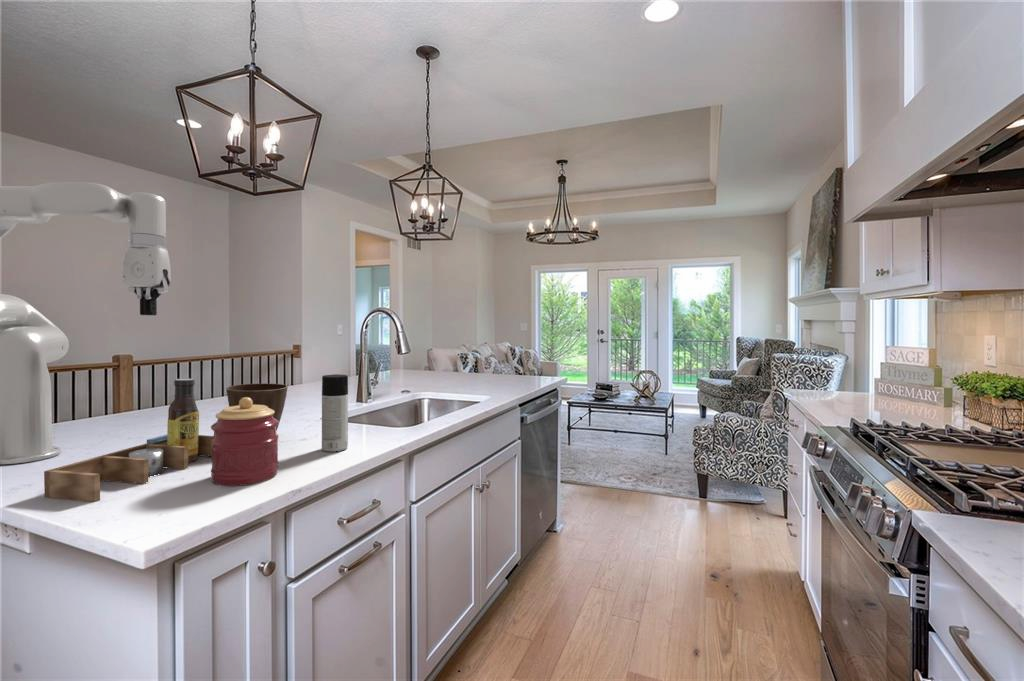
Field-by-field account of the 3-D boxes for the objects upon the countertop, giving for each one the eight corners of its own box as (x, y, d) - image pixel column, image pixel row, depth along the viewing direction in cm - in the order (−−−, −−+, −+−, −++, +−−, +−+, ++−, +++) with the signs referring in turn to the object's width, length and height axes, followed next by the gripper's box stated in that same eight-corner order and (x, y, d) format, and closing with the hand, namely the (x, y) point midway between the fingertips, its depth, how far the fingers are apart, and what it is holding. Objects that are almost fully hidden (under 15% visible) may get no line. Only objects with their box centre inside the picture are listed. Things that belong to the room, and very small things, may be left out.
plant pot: (284, 435, 142) (284, 382, 141) (290, 447, 129) (290, 388, 128) (226, 440, 134) (226, 384, 133) (226, 454, 121) (226, 391, 120)
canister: (216, 471, 108) (216, 394, 107) (280, 465, 113) (280, 392, 112) (205, 490, 96) (205, 403, 95) (276, 483, 101) (277, 400, 100)
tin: (121, 477, 102) (121, 454, 102) (147, 469, 108) (146, 447, 108) (145, 479, 101) (145, 456, 101) (170, 471, 107) (170, 449, 107)
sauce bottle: (182, 466, 111) (181, 381, 110) (160, 463, 112) (159, 380, 111) (205, 458, 117) (205, 378, 116) (184, 456, 118) (183, 377, 117)
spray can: (353, 448, 129) (353, 375, 128) (331, 454, 123) (332, 377, 122) (337, 444, 132) (337, 373, 132) (315, 449, 127) (316, 375, 126)
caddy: (43, 497, 90) (43, 467, 90) (180, 453, 121) (180, 430, 121) (94, 501, 88) (94, 471, 88) (220, 456, 119) (220, 433, 119)
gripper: (108, 240, 118) (108, 314, 119) (160, 240, 116) (160, 315, 117) (136, 245, 126) (136, 314, 126) (185, 245, 123) (186, 316, 124)
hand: (148, 315), depth 121 cm, fingers closed
